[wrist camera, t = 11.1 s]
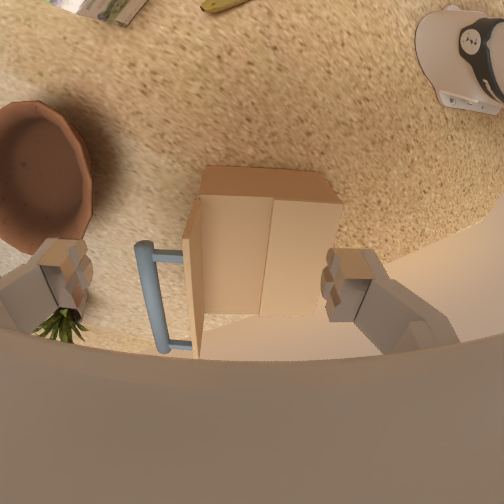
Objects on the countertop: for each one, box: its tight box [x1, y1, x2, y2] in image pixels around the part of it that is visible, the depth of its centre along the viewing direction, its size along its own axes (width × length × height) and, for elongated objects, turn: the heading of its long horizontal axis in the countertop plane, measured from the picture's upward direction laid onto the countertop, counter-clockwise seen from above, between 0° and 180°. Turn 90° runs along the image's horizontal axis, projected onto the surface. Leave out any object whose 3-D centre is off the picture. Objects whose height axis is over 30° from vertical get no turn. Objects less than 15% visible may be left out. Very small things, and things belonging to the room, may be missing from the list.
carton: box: [199, 166, 344, 317], centre depth 40 cm, size 16×18×11 cm
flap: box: [134, 199, 204, 359], centre depth 32 cm, size 8×18×5 cm
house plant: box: [31, 289, 89, 344], centre depth 43 cm, size 14×14×16 cm
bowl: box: [0, 101, 93, 255], centre depth 31 cm, size 22×22×11 cm
